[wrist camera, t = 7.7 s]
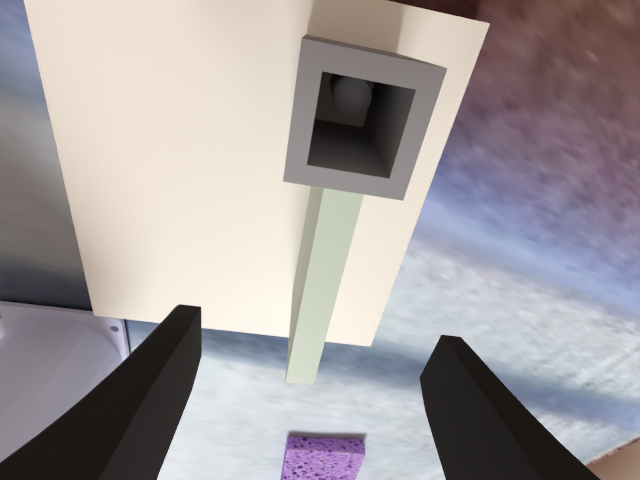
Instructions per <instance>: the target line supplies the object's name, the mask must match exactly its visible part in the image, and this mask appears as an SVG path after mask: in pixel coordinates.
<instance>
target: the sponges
mask: <svg viewBox="0 0 640 480" xmlns="http://www.w3.org/2000/svg"><path fill="white" fill-rule="evenodd" d="M364 457H365V445H364V444H363V443H362V442H361V441H360V440H358V439H341V438H313V437H294V436H288V437H287V444H286V451H285V457H284V464H283V470H282V476H281V480H356V477H357V474H358V472H359V469H360V466H361V464H362V461H363V460H364Z"/></svg>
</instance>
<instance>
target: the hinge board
mask: <svg viewBox="0 0 640 480" xmlns="http://www.w3.org/2000/svg"><path fill="white" fill-rule="evenodd" d="M24 3H25V8H26V12H27V17H28V21H29V26H30V30H31V35H32V39H33V44H34V48H35V53H36V57H37V62H38V66H39V71H40V75H41V80H42V84H43V89H44V93H45V98H46V102H47V107H48V111H49V116H50V120H51V125H52V129H53V134H54V138H55V143H56V147H57V152H58V156H59V161H60V165H61V170H62V174H63V179H64V183H65V188H66V192H67V197H68V201H69V206H70V210H71V215H72V219H73V224H74V228H75V233H76V237H77V242H78V246H79V251H80V255H81V260H82V264H83V269H84V273H85V278H86V282H87V287H88V291H89V296H90V300H91V305H92V309H93V314H94V316H102V317H111V318H120V319H129V320H138V321H147V322H156V323H161V322H162V321H163V320H164V319H165V318H166V317H167V316H168V315H169V313H170V312H171V311H172V310H173V309H174V308H175V307H176V306H177V305H179V304H182V305H191V306H199V307H201V328H210V329H219V330H228V331H237V332H245V333H254V334H263V335H272V336H281V337H289V330H290V317H291V304H292V292H293V285H294V280H295V274H296V268H297V263H298V257H299V251H300V246H301V240H302V234H303V229H304V223H305V218H306V212H307V206H308V201H309V195H310V189H311V186H308V185H302V184H295V183H289V182H283V177H284V169H285V161H286V154H287V146H288V138H289V131H290V123H291V115H292V108H293V100H294V92H295V85H296V77H297V69H298V62H299V54H300V46H301V39H302V37H304V36H305V35H306V34H307V35H312V36H316V37H321V38H326V39H331V40H336V41H340V42H345V43H350V44H355V45H360V46H364V47H369V48H374V49H379V50H384V51H389V52H393V53H398V54H401V55H404V56H408V57H411V58H415V59H418V60H421V61H425V62H428V63H431V64H435V65H438V66H442V67H445V68H447V71H446V74H445V77H444V80H443V83H442V86H441V89H440V92H439V95H438V98H437V101H436V104H435V107H434V110H433V113H432V116H431V119H430V122H429V125H428V128H427V131H426V134H425V137H424V140H423V143H422V146H421V149H420V152H419V155H418V158H417V161H416V164H415V167H414V170H413V173H412V176H411V179H410V182H409V185H408V188H407V191H406V194H405V197H404V200H403V201H402V200H395V199H389V198H383V197H377V196H370V195H364V197H363V201H362V204H361V208H360V212H359V216H358V219H357V223H356V227H355V230H354V234H353V238H352V242H351V245H350V249H349V253H348V257H347V260H346V264H345V268H344V272H343V275H342V279H341V283H340V287H339V290H338V294H337V298H336V302H335V305H334V309H333V313H332V317H331V320H330V324H329V328H328V332H327V335H326V339H325V341H326V342H335V343H344V344H353V345H362V346H371V343H372V341H373V338H374V335H375V333H376V330H377V327H378V325H379V322H380V319H381V316H382V314H383V311H384V308H385V306H386V303H387V300H388V298H389V295H390V292H391V289H392V287H393V284H394V281H395V279H396V276H397V273H398V271H399V268H400V265H401V262H402V260H403V257H404V254H405V252H406V249H407V246H408V244H409V241H410V238H411V235H412V233H413V230H414V227H415V225H416V222H417V219H418V217H419V214H420V211H421V208H422V206H423V203H424V200H425V198H426V195H427V192H428V190H429V187H430V184H431V181H432V179H433V176H434V173H435V171H436V168H437V165H438V163H439V160H440V157H441V154H442V152H443V149H444V146H445V144H446V141H447V138H448V136H449V133H450V130H451V127H452V125H453V122H454V119H455V117H456V114H457V111H458V109H459V106H460V103H461V101H462V98H463V95H464V92H465V90H466V87H467V84H468V82H469V79H470V76H471V74H472V71H473V68H474V65H475V63H476V60H477V57H478V55H479V52H480V49H481V47H482V44H483V41H484V38H485V36H486V33H487V30H488V28H489V25H490V23H485V22H481V21H476V20H472V19H467V18H463V17H458V16H454V15H450V14H445V13H441V12H436V11H432V10H427V9H423V8H418V7H414V6H409V5H405V4H401V3H396V2H392V1H387V0H24ZM373 85H374V81H369V80H364V79H359V78H354V77H349V76H344V75H339V74H333V73H328V72H323V71H322V76H321V82H320V88H319V94H318V100H317V106H316V112H315V118H314V119H320V120H325V121H331V122H336V123H342V124H347V125H353V126H358V127H364V123H365V119H366V114H367V110H368V108H369V106H370V103H371V97H372V96H371V93H372V89H373Z"/></svg>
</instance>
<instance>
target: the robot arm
mask: <svg viewBox="0 0 640 480" xmlns="http://www.w3.org/2000/svg"><path fill="white" fill-rule="evenodd" d="M115 326H116V327H115ZM200 359H201V307H199V306H191V305H182V304H179V305H177V306H176V307H175V308H174V309H173V310H172V311H171V312H170V313H169V315H168V316H167V317H166V318H165V319H164V320H163V321H162V322H161V323H160V324H159V325H158V327H157V328H156V329H155V330H154V331H153V332H152V333H151V334H150V335H149V336H148V337H147V338H146V339H145V340H144V341H143V342H142V343H141V344H140V345H139V346H138V347H137V348H136V349H135V350H134V351H133V352H132V353H131V354H130V353H129V347H128V341H127V335H126V328H125V322H124V319H120V318H111V317H102V316H94V314H93V311H85V310H76V309H67V308H59V307H50V306H41V305H32V304H23V303H14V302H5V301H0V480H157V477H158V474H159V472H160V469H161V467H162V464H163V462H164V459H165V457H166V454H167V452H168V449H169V447H170V444H171V441H172V439H173V436H174V434H175V431H176V429H177V426H178V424H179V421H180V419H181V416H182V414H183V411H184V409H185V406H186V404H187V401H188V398H189V396H190V393H191V391H192V387H193V384H194V380H195V377H196V373H197V370H198V366H199V362H200ZM420 382H421V389H422V395H423V400H424V406H425V411H426V415H427V418H428V422H429V425H430V428H431V432H432V435H433V438H434V442H435V445H436V448H437V452H438V455H439V458H440V461H441V465H442V468H443V471H444V475H445V478H446V480H600V479H599V478H598V477H597V476H596V475H595V474H593V473H592V472H591V471H590V470H589V469H588V468H587V467H586V466H585V465H584V464H582V463H581V462H580V461H579V460H578V459H577V458H576V457H575V456H574V455H572V454H571V453H570V452H569V451H568V450H567V449H566V448H565V447H564V446H563V445H562V444H561V443H560V442H559V441H558V440H557V439H556V438H555V437H554V436H553V435H552V434H551V433H550V432H549V431H548V430H547V429H546V428H545V427H544V426H543V425H542V424H541V423H540V422H539V421H538V420H537V419H536V418H535V417H534V416H533V415H532V414H531V413H530V412H529V411H528V410H527V409H526V408H525V407H524V406H523V405H522V404H521V403H520V402H519V400H518V399H517V398H516V397H515V396H514V395H513V394H512V393H511V392H510V391H509V390H508V389H507V387H506V386H505V385H504V384H503V383H502V382H501V381H500V380H499V379H498V378H497V376H496V375H495V374H494V373H493V372H492V371H491V370H490V369H489V368H488V366H487V365H486V364H485V363H484V362H483V361H482V360H481V359H480V358H479V356H478V355H477V354H476V353H475V352H474V351H473V350H472V349H471V348H470V347H469V345H468V344H467V343H466V342H465V341H464V340H463V339H462V338H461V337H456V336H447V335H441V337H440V339H439V341H438V343H437V345H436V347H435V349H434V351H433V353H432V355H431V357H430V358H429V360H428V362H427V364H426V366H425V368H424V370H423V372H422V374H421V376H420Z"/></svg>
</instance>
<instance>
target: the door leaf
mask: <svg viewBox="0 0 640 480" xmlns="http://www.w3.org/2000/svg"><path fill="white" fill-rule="evenodd" d="M322 71H323V72H328V73H333V74H339V75H344V76H349V77H354V78H359V79H364V80H369V81H374V85H373V89H372V93H371V96H372V97H371V103H370V106H369V108H368V110H367V114H366V119H365V123H364V127H358V126H353V125H347V124H342V123H336V122H331V121H325V120H320V119H314V118H315V112H316V106H317V100H318V94H319V88H320V82H321V76H322ZM446 71H447V68H445V67H442V66H438V65H435V64H431V63H428V62H425V61H421V60H418V59H415V58H411V57H408V56H404V55H401V54H398V53H393V52H389V51H384V50H379V49H374V48H369V47H364V46H360V45H355V44H350V43H345V42H340V41H336V40H331V39H326V38H321V37H316V36H312V35H307V34H306V35H305V36H304V37H302V39H301V46H300V54H299V62H298V69H297V77H296V85H295V92H294V100H293V108H292V115H291V123H290V131H289V138H288V146H287V154H286V161H285V169H284V177H283V182H289V183H295V184H302V185H308V186H311V189H310V195H309V201H308V206H307V212H306V218H305V223H304V229H303V234H302V240H301V246H300V251H299V257H298V263H297V268H296V274H295V280H294V285H293V292H292V304H291V317H290V330H289V343H288V356H287V369H286V381H285V382H288V383H298V384H308V385H313V384H314V380H315V377H316V373H317V369H318V365H319V362H320V358H321V354H322V350H323V347H324V343H325V339H326V335H327V332H328V328H329V324H330V320H331V317H332V313H333V309H334V305H335V302H336V298H337V294H338V290H339V287H340V283H341V279H342V275H343V272H344V268H345V264H346V260H347V257H348V253H349V249H350V245H351V242H352V238H353V234H354V230H355V227H356V223H357V219H358V216H359V212H360V208H361V204H362V201H363V197H364V195H370V196H377V197H383V198H389V199H395V200H402V201H403V200H404V197H405V194H406V191H407V188H408V185H409V182H410V179H411V176H412V173H413V170H414V167H415V164H416V161H417V158H418V155H419V152H420V149H421V146H422V143H423V140H424V137H425V134H426V131H427V128H428V125H429V122H430V119H431V116H432V113H433V110H434V107H435V104H436V101H437V98H438V95H439V92H440V89H441V86H442V83H443V80H444V77H445V74H446Z"/></svg>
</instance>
